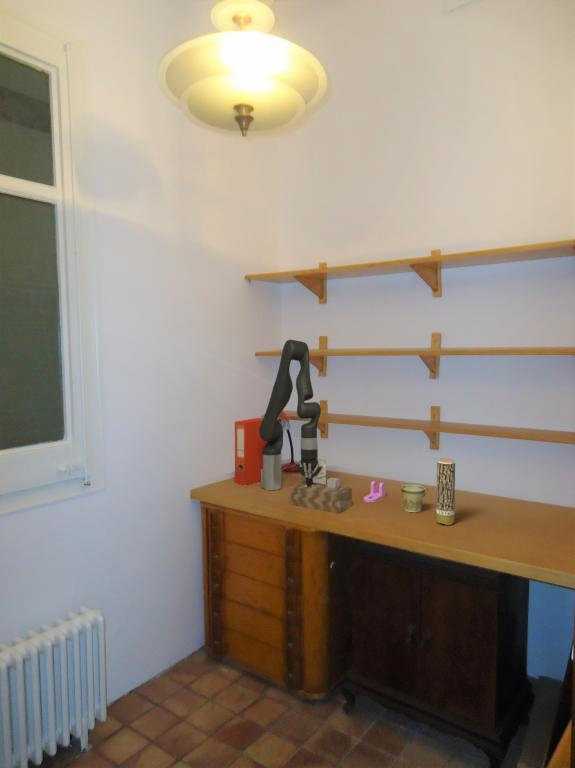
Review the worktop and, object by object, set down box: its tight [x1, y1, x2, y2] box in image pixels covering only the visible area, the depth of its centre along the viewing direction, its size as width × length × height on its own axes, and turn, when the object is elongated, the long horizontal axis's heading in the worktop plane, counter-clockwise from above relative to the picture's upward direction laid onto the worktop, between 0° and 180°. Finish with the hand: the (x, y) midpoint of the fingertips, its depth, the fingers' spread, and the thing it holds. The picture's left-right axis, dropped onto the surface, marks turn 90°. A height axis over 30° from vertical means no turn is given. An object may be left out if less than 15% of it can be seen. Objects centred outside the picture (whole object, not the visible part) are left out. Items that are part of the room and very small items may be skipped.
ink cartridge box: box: [313, 458, 327, 484], centre depth 257 cm, size 9×5×15 cm, turn 84°
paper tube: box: [435, 458, 456, 524], centre depth 206 cm, size 7×7×25 cm
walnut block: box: [290, 480, 353, 514], centre depth 230 cm, size 24×12×8 cm, turn 59°
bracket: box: [363, 480, 386, 503], centre depth 240 cm, size 13×6×7 cm, turn 144°
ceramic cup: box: [400, 484, 429, 513], centre depth 223 cm, size 13×10×10 cm
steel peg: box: [326, 477, 341, 491], centre depth 227 cm, size 4×4×7 cm
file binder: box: [234, 417, 267, 486], centre depth 271 cm, size 8×17×32 cm, turn 139°
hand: (309, 485), depth 233 cm, fingers closed
